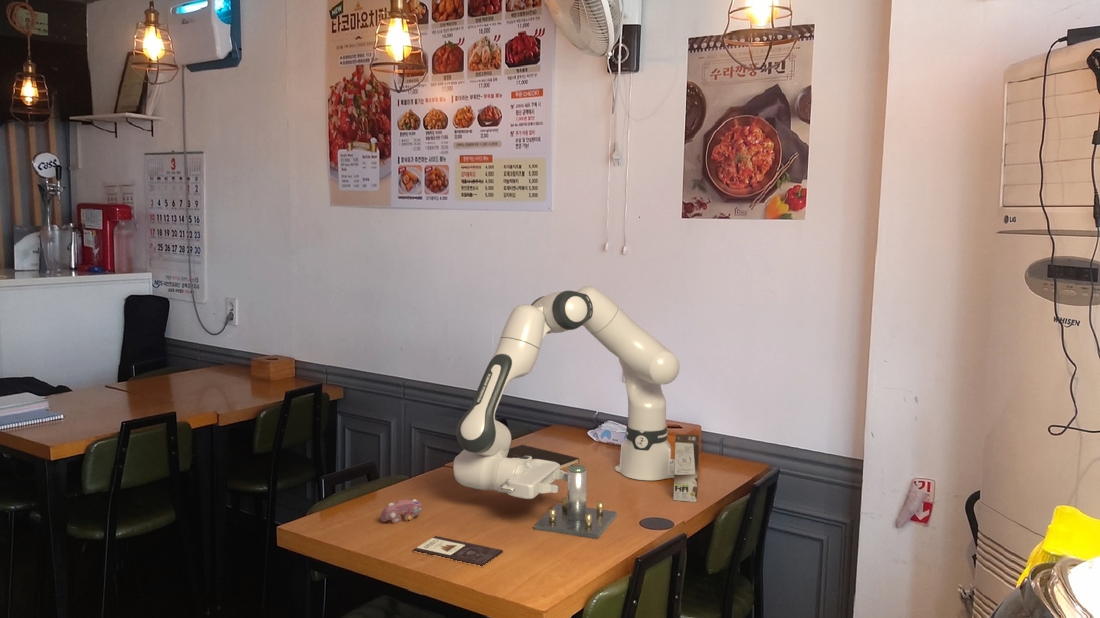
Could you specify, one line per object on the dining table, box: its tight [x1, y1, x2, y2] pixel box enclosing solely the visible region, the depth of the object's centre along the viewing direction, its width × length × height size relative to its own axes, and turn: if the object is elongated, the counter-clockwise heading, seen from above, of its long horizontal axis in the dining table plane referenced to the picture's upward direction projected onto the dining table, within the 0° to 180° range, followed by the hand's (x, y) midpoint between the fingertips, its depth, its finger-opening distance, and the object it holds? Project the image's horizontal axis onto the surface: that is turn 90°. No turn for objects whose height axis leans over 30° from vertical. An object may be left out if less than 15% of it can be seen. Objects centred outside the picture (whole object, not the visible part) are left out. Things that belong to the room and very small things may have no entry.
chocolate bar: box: [412, 535, 504, 566], centre depth 182 cm, size 9×1×18 cm
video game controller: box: [380, 498, 423, 524], centre depth 200 cm, size 10×5×7 cm, turn 119°
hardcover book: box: [507, 444, 580, 470], centre depth 252 cm, size 16×23×2 cm
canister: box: [567, 464, 588, 521], centre depth 200 cm, size 5×5×13 cm
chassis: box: [533, 496, 618, 540], centre depth 200 cm, size 16×16×4 cm
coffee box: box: [672, 434, 700, 503], centre depth 220 cm, size 9×6×16 cm
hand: (565, 483), depth 201 cm, fingers open, 8 cm apart
